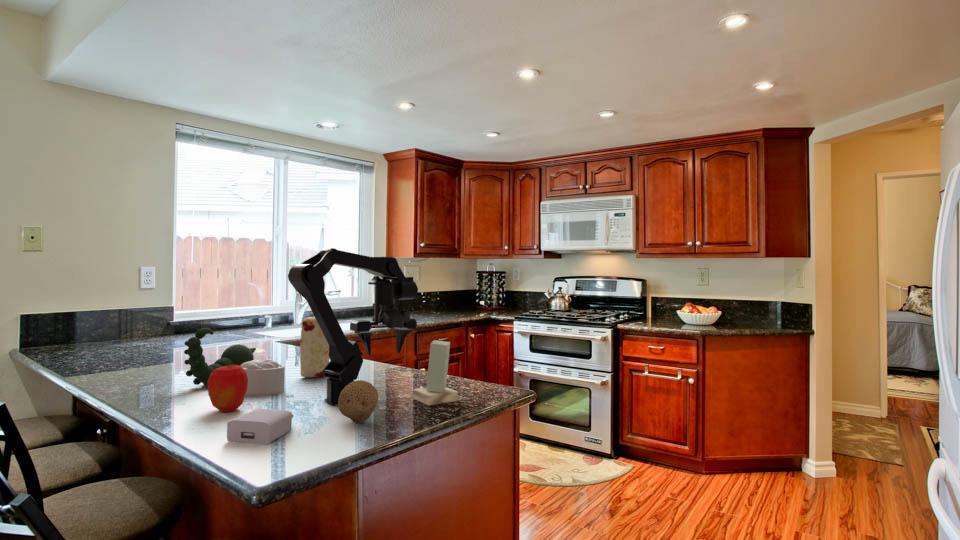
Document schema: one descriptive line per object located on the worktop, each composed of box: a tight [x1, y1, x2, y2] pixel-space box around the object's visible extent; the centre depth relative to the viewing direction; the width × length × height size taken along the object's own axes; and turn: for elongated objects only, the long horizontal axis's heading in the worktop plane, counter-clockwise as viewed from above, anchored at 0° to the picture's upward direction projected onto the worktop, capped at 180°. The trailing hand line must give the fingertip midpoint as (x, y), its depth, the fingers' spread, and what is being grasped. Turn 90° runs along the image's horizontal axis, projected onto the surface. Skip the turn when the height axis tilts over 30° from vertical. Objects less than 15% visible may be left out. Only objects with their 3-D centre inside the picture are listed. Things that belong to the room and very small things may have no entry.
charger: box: [226, 408, 295, 446], centre depth 110 cm, size 5×9×15 cm
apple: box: [207, 363, 248, 413], centre depth 126 cm, size 9×9×12 cm
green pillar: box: [425, 339, 451, 393], centre depth 140 cm, size 4×4×13 cm
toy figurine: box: [183, 327, 257, 387], centre depth 156 cm, size 9×19×25 cm
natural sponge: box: [337, 379, 379, 425], centre depth 117 cm, size 9×9×10 cm
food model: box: [299, 316, 330, 378], centre depth 167 cm, size 10×7×20 cm
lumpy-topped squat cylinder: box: [240, 358, 286, 396], centre depth 147 cm, size 10×13×9 cm
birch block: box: [412, 386, 459, 406], centre depth 140 cm, size 9×9×3 cm
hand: (383, 354), depth 147 cm, fingers open, 9 cm apart
